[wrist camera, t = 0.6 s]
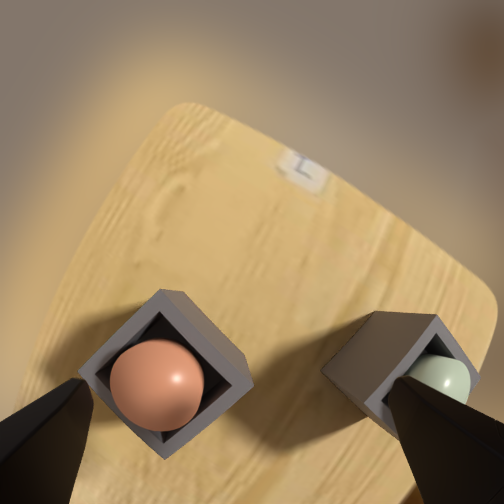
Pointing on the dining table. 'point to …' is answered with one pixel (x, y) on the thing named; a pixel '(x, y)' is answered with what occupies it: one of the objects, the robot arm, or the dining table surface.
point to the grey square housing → (197, 340)
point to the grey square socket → (389, 359)
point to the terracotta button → (158, 384)
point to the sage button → (442, 375)
